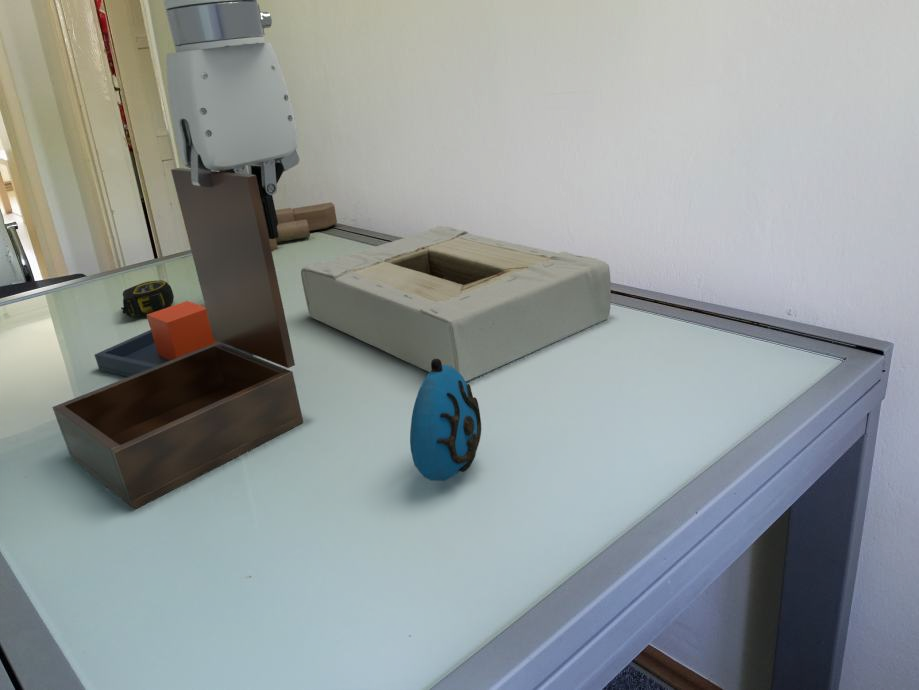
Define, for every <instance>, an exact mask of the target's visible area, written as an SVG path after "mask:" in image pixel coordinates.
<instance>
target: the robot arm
mask: <svg viewBox="0 0 919 690" xmlns="http://www.w3.org/2000/svg"><path fill="white" fill-rule="evenodd" d="M257 1H258V0H162V2H163V5H164V10H165V13H166V17H167V22H168V26H169V30H170V34H171V38H172V42H173V46H174V50H175V52H170V53H166V55H165V57H166V61H165V62H166V79H167V92H168V100H169V106H170V107H169V108H170V114H171V118H172V125H173V130H174V131H173V132H174V137H175V142H176V146H177V150H178V154H179V157H180V160H181V163H182V164H183V165H184V167H186V168H187V169H191V181H192V184H193V185H195V186H200V187H213V184H212V180H211V176H210V173H213V172H212V171H217V172H228V173H240V174H251V175H256V179H257V183H258V188H259V193H260V198H261V203H262V208H263V212H264V217H265V222H266V227H267V232H268V237H269V239H275V238H278V230H277V225H278V220H277V216H276V211H275V210H276V206H275V201H274V198H273V197H274V195H275V194H276V193H277V191H278V183H279V181H280V179H281V177H282V175H283V173H284V172H287V171H289V170H290V169H292V168H294V167H296V166H297V165H299V163H300V157H299V154H298V151H297V149H298V146H299V136H298V130H297V123H296V118H295V114H294V110H293V106H292V101H291V97H290V93H289V89H288V86H287V83H286V80H285V76H284V74H283V70H282V67H281V65H280V62H279V59H278V57H277V54H276V52H275V50H274V47H273V44H272V42H271V41H270V42H266V40H265V35H266V34H265V29H269V28H271V27H272V23H273V22H272V21H273V20H272V16H271V14H270V13H269V12H268V11H261V9H260V8H261V7H260V4H259V3H258V2H257Z"/></svg>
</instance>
